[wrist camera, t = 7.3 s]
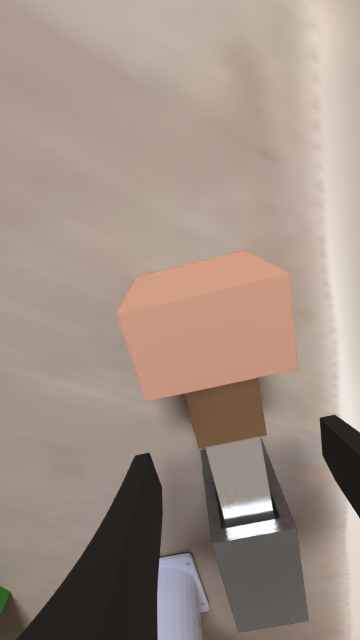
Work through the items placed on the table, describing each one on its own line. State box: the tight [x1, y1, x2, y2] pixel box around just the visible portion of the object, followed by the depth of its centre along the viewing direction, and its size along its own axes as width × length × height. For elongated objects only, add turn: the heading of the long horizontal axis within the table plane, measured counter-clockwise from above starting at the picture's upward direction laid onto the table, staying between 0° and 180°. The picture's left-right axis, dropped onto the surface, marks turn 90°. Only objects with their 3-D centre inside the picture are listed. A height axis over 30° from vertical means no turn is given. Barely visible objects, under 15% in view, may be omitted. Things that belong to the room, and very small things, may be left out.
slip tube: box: [184, 378, 274, 528], centre depth 17 cm, size 17×4×4 cm, turn 13°
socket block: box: [117, 250, 298, 402], centre depth 15 cm, size 4×7×7 cm, turn 103°
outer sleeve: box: [201, 439, 309, 632], centre depth 22 cm, size 10×5×7 cm, turn 13°
